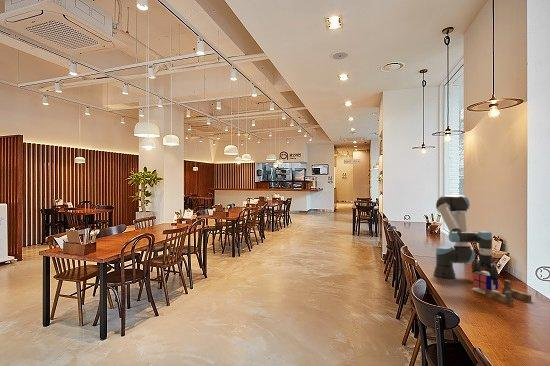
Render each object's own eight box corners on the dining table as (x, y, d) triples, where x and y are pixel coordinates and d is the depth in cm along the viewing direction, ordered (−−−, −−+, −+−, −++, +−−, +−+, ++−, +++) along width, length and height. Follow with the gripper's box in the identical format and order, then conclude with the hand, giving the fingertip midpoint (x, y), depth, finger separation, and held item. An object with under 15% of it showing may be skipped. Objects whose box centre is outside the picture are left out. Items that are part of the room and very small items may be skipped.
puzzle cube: (486, 291, 202) (486, 276, 202) (473, 286, 212) (473, 271, 212) (498, 289, 205) (498, 274, 205) (484, 284, 214) (484, 270, 214)
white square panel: (472, 289, 212) (472, 288, 212) (484, 287, 215) (484, 286, 215) (487, 295, 201) (487, 293, 201) (499, 293, 204) (499, 292, 204)
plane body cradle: (485, 295, 200) (484, 282, 200) (505, 292, 205) (505, 279, 205) (510, 305, 185) (510, 290, 185) (531, 301, 190) (531, 287, 190)
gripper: (466, 251, 218) (466, 282, 218) (497, 258, 196) (498, 292, 196) (474, 250, 220) (474, 281, 220) (506, 257, 198) (506, 291, 198)
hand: (485, 286), depth 208 cm, fingers closed on puzzle cube, 10 cm apart
